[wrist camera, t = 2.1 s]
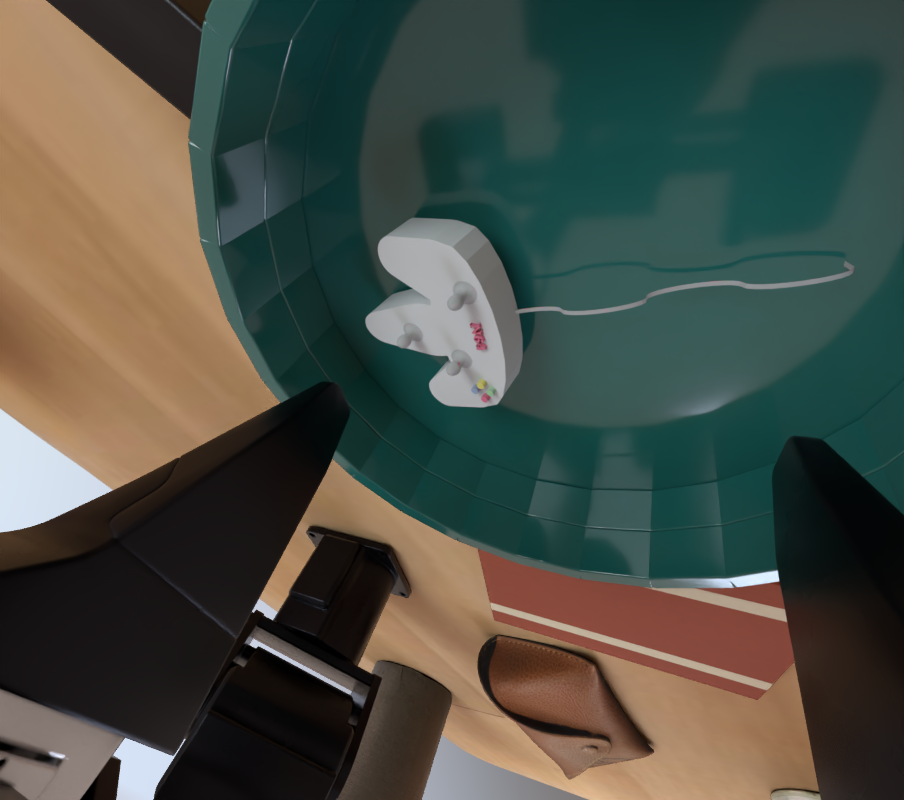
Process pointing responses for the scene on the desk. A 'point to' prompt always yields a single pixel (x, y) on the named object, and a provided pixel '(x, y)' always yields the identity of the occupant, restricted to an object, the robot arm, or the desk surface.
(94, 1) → the pan handle
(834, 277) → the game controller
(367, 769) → the pillar candle
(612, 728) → the sunglasses case
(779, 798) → the coffee can
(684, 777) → the desk surface
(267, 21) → the pan
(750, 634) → the cloth
